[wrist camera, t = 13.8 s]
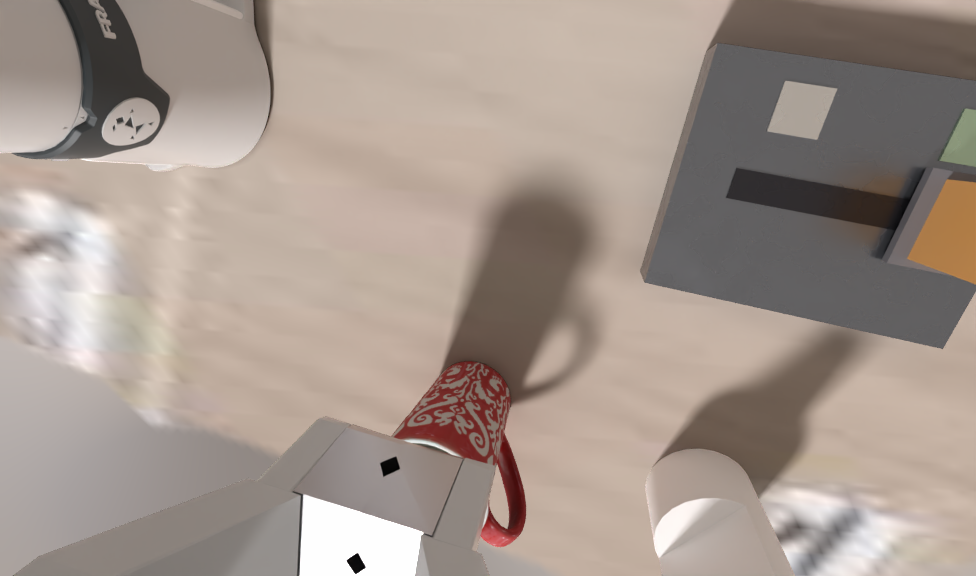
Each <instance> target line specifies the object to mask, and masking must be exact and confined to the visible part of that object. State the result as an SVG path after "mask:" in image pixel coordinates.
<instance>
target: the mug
mask: <svg viewBox="0 0 976 576" xmlns="http://www.w3.org/2000/svg"><path fill="white" fill-rule="evenodd" d="M510 403H511V398H510V392H509V389H508V386H507V384H506V382H505V381H504V379H503V378H502V377H501V376H500V374H499V373H497V372H496V371H495V370H494V369H492V368H490V367H489V366H487V365H484V364H482V363H478V362H473V361H465V362H459V363H456V364H454V365H452V366H450V367H448V368H447V369H446V370H445V371H444V372H443V373H442V374H441V375H440V376H439V377H438V379H437V380H436V381H435V383H434V384H433V385H432V387H431V388H430V389H429V390H428V392H427V393H426V394H425V395H424V396H423V397H422V399H421V400H420V401H419V403H418V404H417V405H416V406H415V408H414V409H413V410H412V411H411V413H410V414H409V415H408V416H407V417H406V418H405V420H404V421H403V422H402V423H401V425H400V426H399V427H398V428H397V430H396V431H395V432H394V433H393V435H392V436H391V437H394V438H397V439H400V440H403V441H407V442H410V443H413V444H417V445H420V446H424V447H427V448H431V449H434V450H438V451H441V452H445V453H448V454H452V455H455V456H459V457H462V458H468V459H472V460H476V461H479V462H483V463H487V464H491V465H494V466H495V470H496V465H497V464H498V467H499V470H500V473H501V477H502V480H503V484H504V488H505V491H506V496H507V501H508V506H509V525H508V529H506V528H504V527H502V526H501V525H500V524H499V523H498V522H497V521H496V520H495V518H494V517H493V515H492V513H491V511H490V507H489V501H488V505H487V510H486V514H485V519H484V523H483V527H482V532H481V537H482V538H483V539H484V540H485V541H486V542H488V543H489V544H491V545H493V546H496V547H503V546H506V545H508V544H510V543H511V542H513V541H514V540H515V539H516V538H517V537H518V536H519V535H520V534H521V532H522V530H523V527H524V524H525V519H526V502H525V494H524V489H523V485H522V481H521V478H520V474H519V471H518V468H517V465H516V462H515V459H514V456H513V453H512V450H511V448H510V445H509V443H508V441H507V439H506V436H505V434H504V430H505V426H506V421H507V417H508V414H509V409H510ZM494 475H495V474H494ZM492 484H493V483H492ZM489 497H490V496H489Z"/></svg>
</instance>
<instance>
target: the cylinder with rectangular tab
mask: <svg viewBox="0 0 976 576" xmlns="http://www.w3.org/2000/svg"><path fill="white" fill-rule="evenodd" d="M645 488H646V495H647V502H648V508H649V514H650V520H651V527H652V533H653V539H654V545H655V551H656V553H657V555H658V557H659V561H660V567H661V573H662V576H795V574H794V572H793V570H792V568H791V566H790V564H789V562H788V560H787V558H786V555H785V553H784V551H783V549H782V547H781V545H780V543H779V541H778V538H777V536H776V534H775V532H774V530H773V528H772V526H771V524H770V522H769V519H768V517H767V515H766V513H765V511H764V509H763V507H762V505H761V502H760V500H759V498H758V496H757V494H756V492H755V490H754V488H753V486H752V483H751V481H750V479H749V477H748V475H747V473H746V472H745V471H744V469H743V468H742V467H741V466H740V465H739V464H738V463H737V462H735V461H734V460H732V459H731V458H730V457H728V456H726V455H724V454H721V453H718V452H716V451H712V450H706V449H685V450H681V451H677V452H673V453H671V454H669V455H667V456H666V457H664V458H662V459H661V460H659V461H658V462H657V463H656V464H655V465H654V466H653V467H652V469H651V471H650V473H649V474H648V476H647V480H646V486H645Z"/></svg>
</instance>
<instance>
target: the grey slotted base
mask: <svg viewBox="0 0 976 576" xmlns="http://www.w3.org/2000/svg"><path fill="white" fill-rule="evenodd" d="M926 167H930V168H938V169H944V170H949V171H955V172H961V173H967V174H973V175H976V81H973V80H966V79H960V78H953V77H946V76H939V75H932V74H926V73H919V72H912V71H905V70H898V69H892V68H885V67H878V66H871V65H864V64H858V63H851V62H844V61H837V60H830V59H824V58H817V57H810V56H803V55H796V54H790V53H783V52H776V51H769V50H762V49H756V48H749V47H742V46H735V45H728V44H722V43H717V44H716V45H714V46H713V47H712V48H710V49H709V50H708V51H706V54H705V57H704V60H703V64H702V67H701V70H700V74H699V77H698V80H697V84H696V87H695V90H694V94H693V97H692V100H691V104H690V107H689V111H688V114H687V117H686V121H685V124H684V127H683V131H682V134H681V137H680V141H679V144H678V147H677V151H676V154H675V157H674V161H673V164H672V167H671V171H670V174H669V177H668V181H667V184H666V187H665V191H664V194H663V197H662V201H661V204H660V207H659V211H658V214H657V217H656V221H655V224H654V227H653V231H652V234H651V237H650V241H649V244H648V247H647V251H646V254H645V257H644V261H643V264H642V267H641V271H640V272H641V275H642V277H643V280H644V282H645V283H649V284H654V285H658V286H663V287H667V288H672V289H676V290H681V291H685V292H690V293H694V294H699V295H703V296H708V297H712V298H717V299H721V300H726V301H730V302H735V303H739V304H744V305H748V306H753V307H757V308H762V309H766V310H771V311H775V312H780V313H784V314H789V315H793V316H797V317H802V318H806V319H811V320H815V321H820V322H824V323H829V324H833V325H838V326H842V327H847V328H851V329H856V330H860V331H865V332H869V333H874V334H878V335H883V336H887V337H892V338H896V339H901V340H905V341H910V342H914V343H919V344H923V345H928V346H932V347H937V348H941V349H943V348H944V346H945V344H946V342H947V341H948V339H949V337H950V335H951V334H952V332H953V330H954V328H955V327H956V325H957V323H958V321H959V320H960V318H961V316H962V314H963V313H964V311H965V309H966V307H967V306H968V304H969V302H970V300H971V299H972V297H973V295H974V293H975V292H976V284H973V283H970V282H968V281H965V280H962V279H960V278H957V277H954V276H949V275H944V274H939V273H934V272H929V271H925V270H920V269H915V268H910V267H905V266H900V265H895V264H890V263H886V262H884V261H881V260H882V258H883V256H884V254H885V252H886V250H887V248H888V246H889V244H890V242H891V240H892V238H893V236H894V234H895V231H896V229H897V227H898V225H899V223H900V221H901V219H902V217H903V215H904V213H905V211H906V209H907V207H908V205H909V203H910V200H911V198H912V196H913V194H914V192H915V190H916V188H917V186H918V184H919V182H920V180H921V178H922V176H923V174H924V172H925V170H926Z"/></svg>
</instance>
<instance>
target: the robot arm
mask: <svg viewBox="0 0 976 576" xmlns="http://www.w3.org/2000/svg"><path fill="white" fill-rule="evenodd" d="M270 96H271V95H270V79H269V72H268V67H267V63H266V59H265V56H264V53H263V50H262V48H261V45H260V42H259V40H258V37H257V34H256V30H255V26H254V6H253V0H0V153H12V154H14V155H17V156H21V157H24V158H31V159H46V160H47V159H51V160H52V161H68V160H69V159H82V160H87V161H99V162H116V163H135V164H145V165H146V166H147V167H148V168H150V169H151V170H154V171H171V170H175V169H177V168H180V167H182V166H185V165H190V166H198V167H206V168H217V167H223V166H227V165H230V164H233V163H235V162H237V161H239V160H240V159H242V158H243V157H244V156H246V155H247V154H248V153H249V152H250V151H251V150H252V149H253V147H254V146H255V145H256V143H257V142H258V140H259V139H260V137H261V135H262V133H263V131H264V128H265V125H266V122H267V119H268V114H269V108H270ZM494 474H495V466H494V465H491V464H487V463H483V462H479V461H476V460H472V459H468V458H462V457H459V456H455V455H452V454H448V453H445V452H441V451H438V450H434V449H431V448H427V447H424V446H420V445H417V444H413V443H410V442H407V441H403V440H400V439H397V438H394V437H391V436H388V435H385V434H382V433H379V432H375V431H372V430H369V429H366V428H363V427H360V426H357V425H354V424H353V425H351V424H349V423H346V422H342V421H339V420H336V419H333V418H330V417H327V416H325V417H322V418H320V419H318V420H316V421H315V422H314V423H313V424H312V425H311V426H310V427H309V428H308V429H307V430H306V432H305V433H304V434H303V435H302V436H301V437H300V438H299V439H298V440H297V441H296V442H295V443H294V444H293V445H292V446H291V447H290V448H289V449H288V450H287V451H286V452H285V453H284V454H283V455H282V456H281V457H280V458H279V459H278V460H277V461H276V462H275V463H274V464H273V465H272V466H271V467H270V468H269V469H268V470H267V471H266V472H265V473H264V474H263V475H262V476H261V477H260V478H259V479H258V480H257V481H255V480H252V479H245V480H242V481H240V482H237V483H234V484H231V485H229V486H226V487H223V488H221V489H218V490H215V491H212V492H210V493H207V494H204V495H202V496H199V497H197V498H194V499H191V500H188V501H186V502H183V503H180V504H178V505H175V506H172V507H170V508H167V509H164V510H162V511H159V512H156V513H153V514H151V515H148V516H146V517H143V518H140V519H137V520H135V521H132V522H129V523H127V524H124V525H121V526H119V527H116V528H113V529H111V530H108V531H105V532H102V533H100V534H97V535H94V536H92V537H89V538H87V539H84V540H81V541H79V542H76V543H73V544H70V545H68V546H65V547H62V548H60V549H57V550H54V551H52V552H49V553H46V554H44V555H41V556H38V557H37V558H36V559H34V560H33V561H32V562H31V563H29V564H28V565H27V566H25V567H24V568H22V569H21V570H20V571H18V572H17V573H16V574H14V575H13V576H490V575H489V573H488V570H487V567H486V564H485V561H484V559H483V556H482V554H481V553H478V552H477V549H478V544H479V540H480V536H481V532H482V527H483V523H484V519H485V514H486V510H487V505H488V501H489V496H490V492H491V488H492V483H493V479H494Z"/></svg>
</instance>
